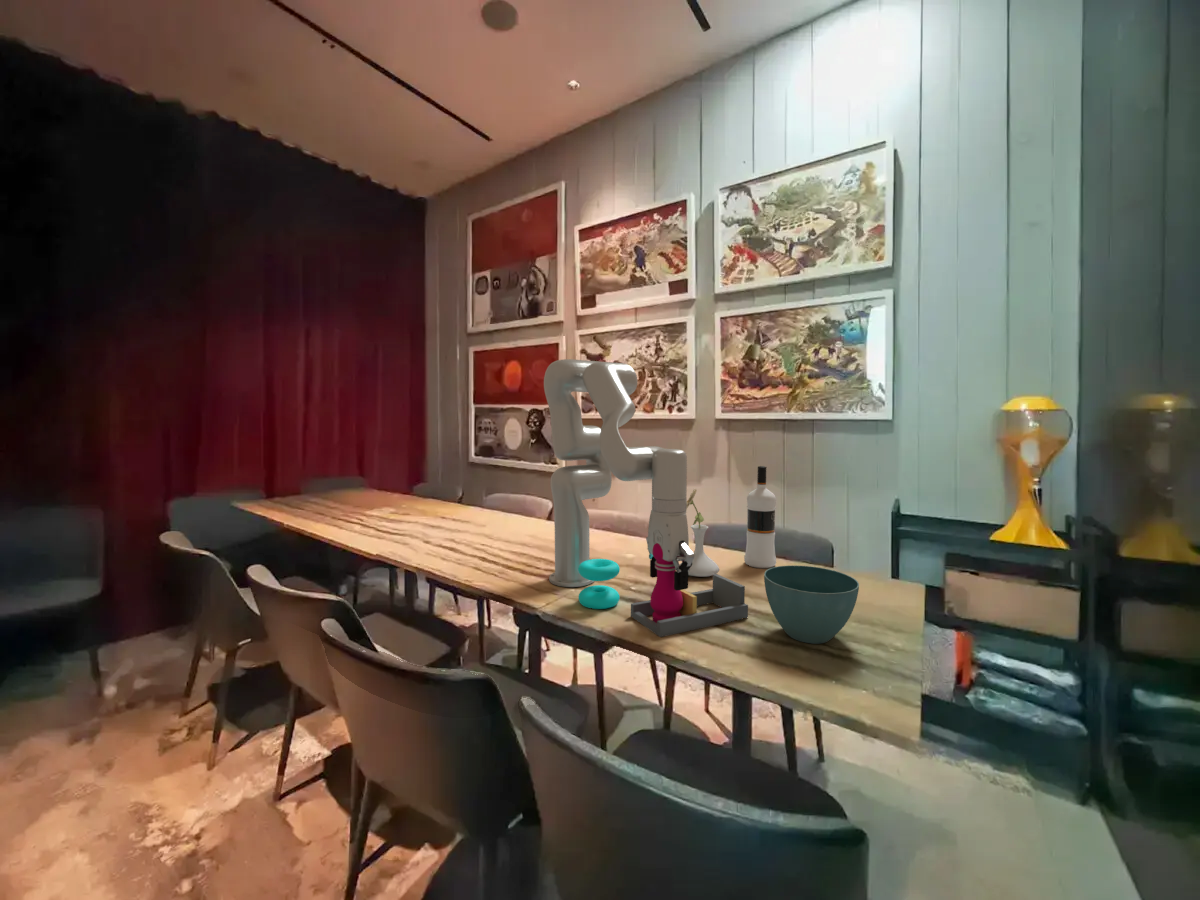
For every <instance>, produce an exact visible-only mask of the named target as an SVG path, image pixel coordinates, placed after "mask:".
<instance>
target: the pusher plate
mask: <svg viewBox="0 0 1200 900" xmlns="http://www.w3.org/2000/svg"><path fill="white" fill-rule="evenodd" d="M680 592H681V594H682V597H683V607H682V609H681V610H680V611H679V612H680V613H681V616H684V615H689V614H694V613H698V612H697V608H698V606H697V596H695V595H693V594H691V593H692V592H689V591H687V590H686V589H683V590H680Z"/></svg>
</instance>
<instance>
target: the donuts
mask: <svg viewBox="0 0 1200 900" xmlns="http://www.w3.org/2000/svg"><path fill="white" fill-rule="evenodd" d="M620 569H621V567H620V565H619V564H618V563H617V562H616V561H614V560H612V559H607V558H592V559H590V560H586V561H584V562H582V563H581V564H580V565H579V568H578V571H579V574H580V575H581V576H582V577H583V578H585V579H588V580H592V581H594V582H605V581H610V580H612V579H614V578H616V577H617V576H618V575H619V573H620V571H621V570H620ZM577 599H578V602H579V603H580V604H581V605H582V606H583V607H585V608H588V609H591V608H592V609H593V610H606V609H611V608H613V607H615V606H616V605H618V604H619V602H620V593H619V592H618V590H616V589H615V588H613V587H611V586H609V585H602V584H600V585H598V584H595V585H590V586H589V585H588V586H587V587H584V588H583V589H582V590H581V591H580V592H579V593H578V598H577ZM592 609H591V610H592Z"/></svg>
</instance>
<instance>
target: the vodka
mask: <svg viewBox="0 0 1200 900" xmlns="http://www.w3.org/2000/svg"><path fill="white" fill-rule="evenodd" d="M756 477H757V479H756V480H757V481H756V482H757V483H756V485H757V486H756V488H755V489H753V490H752V491H750V492H749V493H748V494H747V496H746V502H747V503H746V509H747V511H746V512H747V516H746V517H747V519H746V522H747V524H746V526H747V527H746V547H745V555H743V556H744V557H743V558H744V559H743V560H744V562H745V563H744V564H745V565H747V566H748V565H749V567H751V568H754V569H755V568H756V569H770V568H773V567H776V564H777V557H776V549H775V546H776V545H775V538H776V537H775V536H776V532H775V531H776V529H775V528H776V527H775V526H776V523H775V522H776V509H777V507H776V505H777V497H776V495H775V493H773V492H772V491H771V490H769V489H768V488H767V466H765V465H760V466H757V476H756Z"/></svg>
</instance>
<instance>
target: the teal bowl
mask: <svg viewBox="0 0 1200 900" xmlns="http://www.w3.org/2000/svg"><path fill="white" fill-rule="evenodd" d="M763 579H764V580H763V581H764V587H765V592H766V593H765V594H766V597H767V601H768V604H769V607H770V609H771V611H772V613H773V614H772V615H774V617H775V620H776V621H777V623H778V624H779V625H780V627H781V629H783V631H784V632H785V633H786V634H787V636H789V637H790V638H792V639H794V640H795V641H798V642H801V643H802V642H803V643H806V644H812V645H813V644H824V643H828V642H829V641H830V640H832V639H833V638H834V637H835V636H837V634H838V633H839V632H840V631H841V630H843V628H844V627H845V625H846V624H847V623H848V621H849V619H850V617H851V615H852V614H853V611H854V609H855V606H856V605H857V604H856V602H857V599H858V595H859V591H860V590H859V589H860V583H859V581H858V580H857V579H856V578H854V577H852V576H850V575H848V574H846V573H843V572H840V571H837V570H833V569H829V568H825V567H820V566H819V567H818V566H817V567H816V566H813V565H812V566H811V565H810V566H809V565H796V564H795V565H779V566H773V567H771V568H767V569H766V570H764V575H763Z"/></svg>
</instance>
